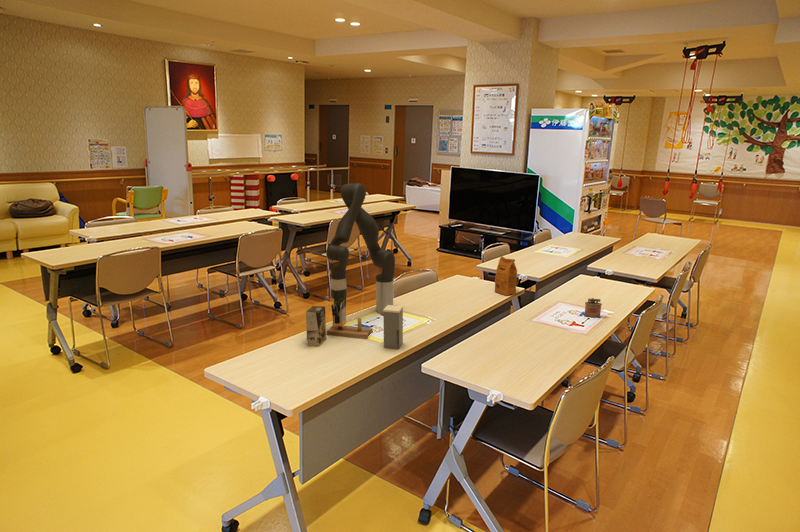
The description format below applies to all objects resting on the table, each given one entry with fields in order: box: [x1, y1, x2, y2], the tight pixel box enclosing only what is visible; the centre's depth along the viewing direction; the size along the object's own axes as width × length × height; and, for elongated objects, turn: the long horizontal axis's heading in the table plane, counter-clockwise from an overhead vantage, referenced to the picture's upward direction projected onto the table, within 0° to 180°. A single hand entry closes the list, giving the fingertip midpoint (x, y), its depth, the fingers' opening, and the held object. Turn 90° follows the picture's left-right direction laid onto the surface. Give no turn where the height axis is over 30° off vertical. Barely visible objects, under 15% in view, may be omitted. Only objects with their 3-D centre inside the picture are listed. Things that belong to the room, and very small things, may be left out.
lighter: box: [583, 297, 603, 319], centre depth 271 cm, size 8×3×10 cm, turn 73°
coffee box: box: [305, 305, 327, 347], centre depth 237 cm, size 9×6×16 cm
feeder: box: [382, 304, 404, 350], centre depth 233 cm, size 7×7×18 cm
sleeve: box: [331, 306, 347, 326], centre depth 248 cm, size 5×5×8 cm
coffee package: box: [494, 255, 518, 296], centre depth 312 cm, size 10×12×22 cm
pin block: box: [326, 317, 374, 340], centre depth 248 cm, size 9×20×8 cm, turn 76°
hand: (339, 321), depth 249 cm, fingers closed on sleeve, 5 cm apart
